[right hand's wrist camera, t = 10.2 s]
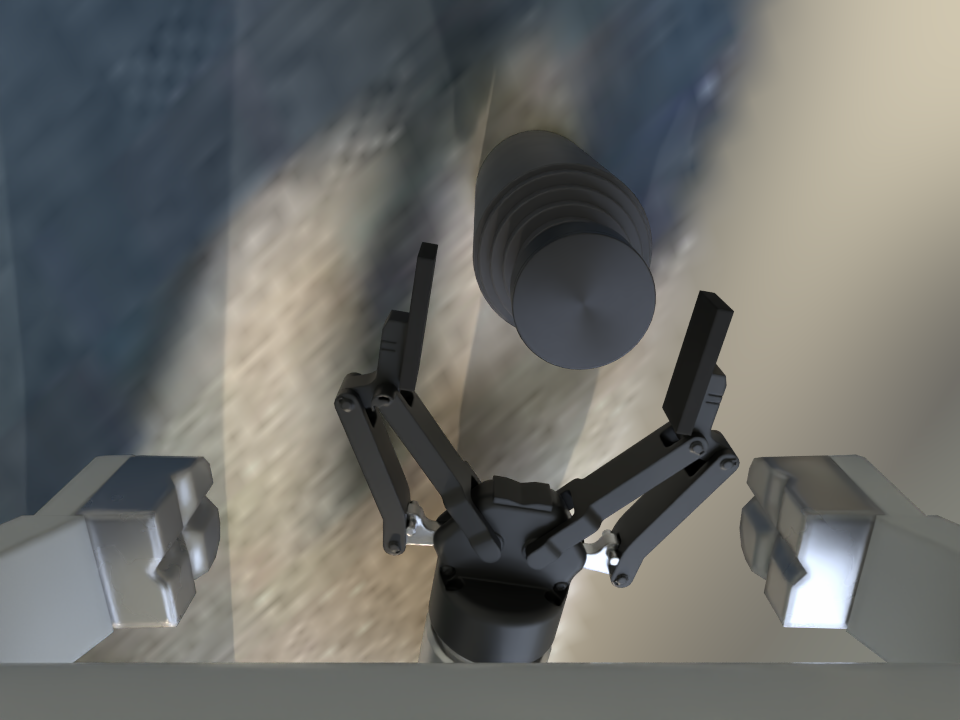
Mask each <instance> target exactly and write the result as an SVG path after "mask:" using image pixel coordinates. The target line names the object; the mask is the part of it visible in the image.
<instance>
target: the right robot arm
mask: <svg viewBox="0 0 960 720" xmlns="http://www.w3.org/2000/svg"><path fill="white" fill-rule="evenodd" d="M212 484H213V478H212V474H211V469H210V464H209V463H208V462H207V460H206V459H205V458H204V457H191V456H135V455H106V456H98V457H95V458H94V459H93V460H92V461H91V462H90V463H89V464H88V465H87V466H86V467H85V468H84V469H83V470H82V471H80V472H79V473H78V474H77V475H76V476H75V477H74V478H73V479H72V480H71V481H70V482H69V483H68V484H67V485H66V486H64V487H63V488H62V489H61V490H60V491H59V492H58V493H57V494H56V495H55V496H54V497H53V498H52V499H51V500H50V501H48V502H47V503H46V504H45V505H44V506H43V507H42V508H41V509H40V510H39V511H38V512H37V513H36V514H35V515H22V516H20V517H18V518H15V519H13V520H10V521H8V522H6V523H3V524H1V525H0V720H960V525H959V524H957V523H954V522H952V521H950V520H947V519H945V518H942V517H940V516H937V515H925V514H924V513H923V512H922V511H921V510H920V509H919V508H918V507H917V506H916V505H915V504H914V503H913V502H912V501H910V499H908V498H907V497H906V496H905V495H904V494H903V493H902V492H901V491H900V490H899V489H898V488H897V487H896V486H895V485H894V484H893V483H891V482H890V481H889V480H888V479H887V478H886V477H885V476H884V475H883V474H882V473H881V472H880V471H879V470H878V469H877V468H875V467H874V466H873V465H872V464H871V463H870V462H869V461H868V460H867V459H866V458H864V457H861V456H858V455H836V456H790V457H760V458H754V459H753V461H752V464H751V466H750V468H749V473H748V478H747V484H748V486H749V487H750V489H751V491H752V492H753V494H754V495H755V496H754V497H753V498H752V499H751V500H750V501H749V502H748V503H747V504H746V505H745V506H744V507H743V508H742V514H741V521H740V538H741V547H742V550H743V553H744V556H745V560H746V561H747V563H748V565H749V567H750V569H751V571H752V572H754V573H755V574H757V575H759V576H760V577H762V578H763V579H765V580H766V584H765V590H764V594H765V595H766V597H767V599H768V601H769V602H770V604H771V606H772V608H773V609H774V611H775V613H776V615H777V616H778V618H779V620H780V621H781V623H782V625H783V627H808V628H845V629H846V632H848V633H849V634H850V635H852V636H853V637H854V638H856V639H857V640H858V641H860V642H861V643H862V644H864V645H865V646H866V647H867V648H869V649H870V650H871V651H873V652H874V653H875V654H877V655H878V656H879V657H881V658H882V659H883V660H885V661H886V662H887V663H73V662H74V661H76V660H77V659H78V658H80V657H81V656H82V655H84V654H85V653H86V652H88V651H89V650H90V649H92V648H93V647H94V646H95V645H97V644H98V643H99V642H101V641H102V640H103V639H105V638H106V637H107V636H109V635H110V634H111V633H113V632H114V630H113V629H115V628H151V627H177V625H178V623H179V622H180V620H181V618H182V616H183V615H184V613H185V611H186V609H187V608H188V606H189V604H190V602H191V601H192V599H193V597H194V596H195V594H196V589H195V584H194V580H195V579H197V578H198V577H200V576H202V575H203V574H205V573H206V572H208V571H209V569H210V567H211V565H212V563H213V561H214V559H215V558H216V554H217V549H218V545H219V541H220V519H219V513H218V508H217V507H216V506H215V505H214V504H213V503H212V502H211V501H210V500H209V499H208V498H207V497H206V496H205V495H206V494H207V492H208V491H209V489H210V487H211V486H212Z"/></svg>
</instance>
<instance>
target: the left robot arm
mask: <svg viewBox="0 0 960 720" xmlns="http://www.w3.org/2000/svg"><path fill="white" fill-rule="evenodd" d="M437 249H438V245H437V244H431V243H425V242H422V245H421V248H420V251H419V254H418V257H417V264H416V271H415V278H414V285H413V292H412V299H411V306H410V313H408V312H402V311H396V310H391V312H390V314H389V315H388V317H387V319H386V321H385V324H384V326H383V329H382V337H381V345H380V353H379V361H378V368H377V370H376V371H374V372H373V373H370V374H364V375H361V374H360V373H356V372H355V373H350V374H348V375H347V376H346V377H345V378H344V380H343V383H342V385H341V387H340V390H339V392H338V394H337V396H336V399H335V402H334V405H335V409H336V411H337V413H338V416H339V418H340V420H341V423H342V425H343V427H344V430H345V432H346V434H347V437H348V439H349V441H350V444H351V446H352V448H353V451H354V453H355V455H356V458H357V460H358V462H359V465H360V467H361V469H362V472H363V474H364V476H365V479H366V481H367V483H368V486H369V488H370V490H371V493H372V495H373V497H374V500H375V502H376V504H377V507H378V509H379V511H380V514H381V516H382V518H383V548H384V550H385V551H386V552H387V553H388V554H390V555H400V554H402V553H403V552H404V551H405V548H406V545H425V546H434V548H435V550H436V552H437V555H438V559H437V564H436V570H435V575H434V580H433V585H432V591H431V596H430V601H429V612H428V613H427V617H426V622H425V627H424V633H423V638H422V643H421V648H420V654H419V659H418V663H547V662H548V659H549V655H550V652H551V645H552V643H553V641H554V638H555V635H556V631H557V628H558V625H559V621H560V618H561V614H562V611H563V608H564V604H565V601H566V598H567V594H568V590H569V586H570V582H571V580H572V579H573V577H574V576H575V575H576V574H577V573H578V572H579V571H580V570H582V568H586V569H590V570H594V571H598V572H602V573H606V574H609V575H610V579H611V582H612V584H613V585H614V586H616V587H618V588H623V587H627V586H628V585H630V584H631V582H632V581H633V579H634V577H635V575H636V573H637V571H638V569H639V567H640V565H641V563H642V561H643V559H644V557H646V556H647V555H648V554H649V553H650V552H651V551H652V550H653V549H654V548H655V547H656V546H657V545H658V544H659V543H660V542H661V541H662V540H663V539H664V538H665V537H667V536H668V535H669V534H670V533H671V532H672V531H673V530H674V529H675V528H676V527H677V526H678V525H679V524H680V523H681V522H682V521H683V520H684V519H685V518H687V516H689V515H690V514H691V513H692V512H693V511H694V510H695V509H696V508H697V507H698V506H699V505H700V504H701V503H702V502H703V501H704V500H705V499H706V498H707V497H709V496H710V495H711V494H712V493H713V492H714V491H715V490H716V489H717V488H718V487H719V486H720V485H721V484H722V483H723V482H724V481H725V480H726V479H727V478H729V477H730V476H731V475H732V474H733V473H734V472H735V471H736V470H737V468H738V467H739V463H740V462H739V459H738V457H737V456H736V454H735V453H734V451H733V450H732V448H731V447H730V445H729V444H728V442H727V441H726V439H725V438H724V436H723V435H722V434H721V432H719V431H717V430H711V428H712V425H713V422H714V419H715V416H716V414H717V411H718V408H719V405H720V402H721V400H722V396H723V394H724V391H725V389H726V376H725V374H724V373H723V372H722V371H721V369H720V368H719V367H718V366H717V365H716V362H717V359H718V356H719V353H720V350H721V347H722V345H723V341H724V339H725V336H726V333H727V330H728V327H729V324H730V322H731V319H732V316H733V313H734V311H733V310H732V309H731V308H730V307H729V306H728V305H727V304H726V303H725V302H724V301H723V300H722V299H720V298H719V297H718V296H717V295H716V294H715V293H712V292H706V291H700V292H699V295H698V298H697V301H696V304H695V307H694V310H693V313H692V316H691V320H690V323H689V326H688V329H687V332H686V335H685V338H684V341H683V344H682V348H681V351H680V354H679V357H678V360H677V363H676V366H675V369H674V373H673V376H672V379H671V382H670V385H669V388H668V391H667V394H666V397H665V400H664V403H663V407H662V408H663V410H664V412H665V414H666V416H667V417H668V419H669V422H668V423H666V424H665V425H663V426H662V427H660V428H659V429H657V430H656V431H654V432H653V433H651V434H650V435H648V436H647V437H645V438H644V439H642V440H641V441H639V442H638V443H636V444H635V445H633V446H632V447H630V448H629V449H627V450H626V451H624V452H623V453H621V454H620V455H618V456H617V457H615V458H614V459H612V460H611V461H609V462H608V463H606V464H605V465H603V466H602V467H600V468H599V469H597V470H596V471H594V472H593V473H591V474H590V475H588V476H587V477H585V478H584V479H579V478H577V479H574V480H572V481H571V482H569V483H568V484H566V485H565V486H563V487H562V488H560V489H559V490H557V491H554V490H552V489H550V485H549V484H546V483H539V482H528V483H519V482H517V481H514V480H512V479H509V478H506V477H499V476H493V480H487V481H484V482H482V483H481V481H480V480H479V479H478V477H477V476H476V474H475V473H474V471H473V470H472V468H471V467H470V465H469V464H468V463H467V462H466V461H463V460H462V459H461V458H460V456H459V455H458V453H457V452H456V450H455V449H454V447H453V446H452V445H451V443H450V442H449V440H448V439H447V437H446V436H445V434H444V433H443V432H442V430H441V429H440V427H439V426H438V424H437V423H436V421H435V420H434V418H433V417H432V416H431V414H430V413H429V411H428V410H427V408H426V407H425V405H424V404H423V403H422V401H421V400H420V398H419V397H418V395H417V394H416V392H415V391H414V390H415V385H416V380H417V375H418V371H419V365H420V358H421V352H422V345H423V339H424V333H425V326H426V320H427V313H428V307H429V300H430V294H431V287H432V281H433V275H434V268H435V262H436V255H437ZM378 409H379V410H380V412H381V413H382V415H383V416H384V417H385V419H386V420H387V421H388V423H389V424H390V426H391V427H392V428H393V430H394V431H395V433H396V434H397V435H398V437H399V438H400V439H401V441H402V442H403V444H404V445H405V446H406V448H407V449H408V450H409V452H410V453H411V455H412V456H413V457H414V459H415V460H416V462H417V463H418V464H419V466H420V467H421V468H422V470H423V471H424V473H425V474H426V475H427V477H428V478H429V480H430V481H431V482H432V484H433V485H434V486H435V488H436V489H437V491H438V492H439V493H440V495H441V497H442V499H443V502H444V505H445V508H446V509H447V510H446V511H445V512H444V513H442V514H441V515H440V516H439V517H438V518H437V520H436V521H432V520H429V519H428V518H427V517H426V516H425V515H424V511H423V509H422V507H420V506H419V503H418V502H417V501H411V502H410V491H409V487H408V483H407V480H406V478H405V475H404V473H403V470H402V468H401V465H400V463H399V460H398V458H397V455H396V453H395V450H394V448H393V445H392V443H391V440H390V438H389V435H388V433H387V430H386V428H385V425H384V423H383V421H382V418H381V416H380V413H379V411H378ZM641 495H642V496H641ZM640 496H641V497H640ZM638 497H640V498H639V499H638V500H637V501H636V502H635V503H634V504H633V505H632V506H631V507H630V508H629V509H628V510H627V511H626V512H625V513H624V514H623V516H622V517H621V518H620V519H619V520H618V522H617V523H616V524H615V526H614V528H613V530H612V531H611V530H604V531H603V532H602V536H601V537H600V539H599V540H598V541H596V542H595V543H591V544H587V543H584V539H585V538H587V537H588V536H590V535H592V534H593V533H595V532H596V531H597V530H598V529H599V527H600V525H601V523H602V521H603V520H604V519H606V518H607V517H609V516H610V515H612V514H613V513H615V512H616V511H618V510H620V509H621V508H623V507H624V506H626V505H627V504H629V503H630V502H632V501H634V500H635V499H637V498H638ZM572 508H574V514H573V516H571V514H570V512H569V510H571V509H572Z"/></svg>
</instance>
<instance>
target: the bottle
mask: <svg viewBox="0 0 960 720" xmlns="http://www.w3.org/2000/svg"><path fill="white" fill-rule="evenodd" d="M576 221H586V222H593V223H598V224H601V225H604V226H607V227H609V228H611V229H613V230H615V231H616V232H618V233H619V234H621V235H622V236H623V237H624V238H625V239H626V240H627V241H628V242H629V243H630V244H631V245H632V247H633V248H634V249H635V250H636V251H637V252H638V254H639V255H640V256H641V257H642V258H643V260H644V261H645V263H646V264H647V266H648V267H650V262H651V256H652V237H651V230H650V226H649V222H648V219H647V216H646V214H645V211H644V209H643V207H642V206H641V204H640V202H639V200H638V199H637V198H636V196H635V195H634V194H633V193H632V191H631V190H630V189H629V188H628V187H627V186H626V185H625V184H624V183H623V182H621V181H620V180H619V179H618V178H616V177H615V176H614V175H613V174H611V173H610V172H609V171H608V170H606V169H605V168H604V167H603V166H601V165H600V164H599V163H598V162H596V161H595V160H594V159H593V158H591V157H590V156H589V155H588V154H586V153H585V152H584V151H583V150H581V149H580V148H579V147H578V146H576V145H575V144H574V143H572V142H571V141H570V140H568V139H567V138H565V137H563V136H561V135H558V134H556V133H553V132H548V131H539V130H534V131H526V132H521V133H518V134H516V135H513V136H511V137H509V138H507V139H505V140H504V141H502V142H501V143H500V144H498V145H497V146H496V147H495V148H494V149H493V150H492V151H491V152H490V154H489V155H488V156H487V158H486V159H485V161H484V162H483V164H482V166H481V168H480V171H479V174H478V177H477V182H476V191H475V214H474V239H473V265H474V271H475V276H476V279H477V282H478V285H479V288H480V290H481V292H482V294H483V296H484V297H485V299H486V301H487V302H488V303H489V305H490V306H491V308H492V309H493V310H494V311H495V312H496V313H497V314H498V315H499V316H500V317H501V318H503V319H504V320H505V321H506V322H508V323H509V324H511V325H512V326H514V327H516V326H515V323H514V319H513V314H512V306H511V299H510V280H511V275H512V271H513V268H514V265H515V263H516V261H517V259H518V257H519V255H520V254H521V252H522V251H523V250H524V248H525V247H526V246H527V245H528V244H529V243H530V242H531V241H532V240H533V239H534V238H535V237H536V236H538V235H539V234H541V233H542V232H544V231H545V230H547V229H549V228H551V227H554V226H557V225H560V224H563V223H568V222H576Z"/></svg>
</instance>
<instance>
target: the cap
mask: <svg viewBox="0 0 960 720" xmlns="http://www.w3.org/2000/svg"><path fill="white" fill-rule="evenodd" d="M510 299H511V306H512V314H513V319H514V323H515V326H516V329H517V331H518V333H519V335H520V337H521V339H522V340H523V342H524V343H525V344H526V346H527V347H528V348H529V349H530V350H531V351H532V352H533V353H535V354H536V355H537V356H538V357H540V358H541V359H543V360H545V361H546V362H549V363H551V364H553V365H556V366H559V367H562V368H568V369H580V370H581V369H591V368H597V367H601V366H604V365H607V364H609V363H611V362H614V361H616V360H617V359H619V358H621V357H622V356H624V355H625V354H627V353H628V352H629V351H630V350H632V349H633V348H634V347H635V346H636V345H637V344H638V342H639V341H640V340H641V339H642V337H643V336H644V334H645V333H646V331H647V329H648V327H649V325H650V323H651V321H652V317H653V314H654V310H655V304H656V292H655V284H654V280H653V277H652V274H651V272H650V269H649V267H648V266H647V264H646V263H645V261H644V260H643V258H642V257H641V256H640V255H639V254H638V252H637V251H636V250H635V249H634V248H633V247H632V245H631V244H630V243H629V242H628V241H627V240H626V239H625V238H624V237H623V236H622V235H621V234H619V233H618V232H616V231H615V230H613V229H611V228H609V227H607V226H604V225H601V224H598V223H593V222H586V221H576V222H568V223H563V224H560V225H557V226H554V227H551V228H549V229H547V230H545V231H544V232H542V233H541V234H539V235H538V236H536V237H535V238H534V239H533V240H532V241H531V242H530V243H529V244H528V245H527V246H526V247H525V248H524V250H523V251H522V252H521V254H520V255H519V257H518V259H517V261H516V263H515V265H514V268H513V271H512V275H511V280H510Z"/></svg>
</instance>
